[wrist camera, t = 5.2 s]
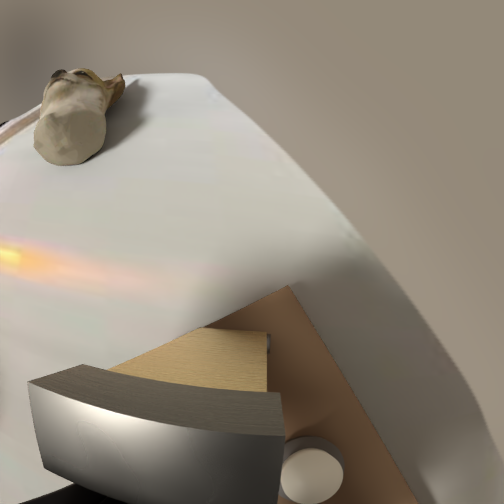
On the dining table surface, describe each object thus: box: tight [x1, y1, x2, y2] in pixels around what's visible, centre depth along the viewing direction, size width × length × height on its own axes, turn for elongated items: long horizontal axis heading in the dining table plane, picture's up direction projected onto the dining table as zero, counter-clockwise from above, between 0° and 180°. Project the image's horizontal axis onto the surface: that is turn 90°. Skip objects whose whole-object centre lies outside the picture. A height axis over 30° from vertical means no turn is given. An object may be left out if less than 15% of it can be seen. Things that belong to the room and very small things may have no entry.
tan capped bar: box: [27, 327, 286, 504], centre depth 9 cm, size 2×4×12 cm, turn 87°
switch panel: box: [203, 285, 418, 504], centre depth 11 cm, size 8×21×2 cm, turn 28°
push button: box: [281, 448, 343, 504], centre depth 10 cm, size 3×3×1 cm
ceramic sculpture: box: [34, 68, 125, 166], centre depth 23 cm, size 11×9×15 cm
